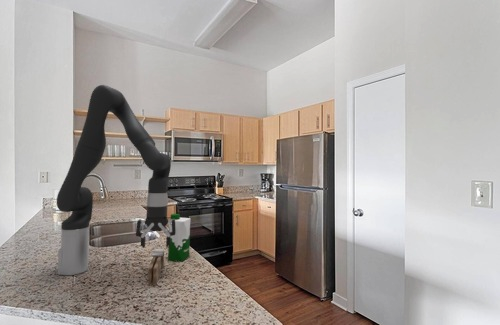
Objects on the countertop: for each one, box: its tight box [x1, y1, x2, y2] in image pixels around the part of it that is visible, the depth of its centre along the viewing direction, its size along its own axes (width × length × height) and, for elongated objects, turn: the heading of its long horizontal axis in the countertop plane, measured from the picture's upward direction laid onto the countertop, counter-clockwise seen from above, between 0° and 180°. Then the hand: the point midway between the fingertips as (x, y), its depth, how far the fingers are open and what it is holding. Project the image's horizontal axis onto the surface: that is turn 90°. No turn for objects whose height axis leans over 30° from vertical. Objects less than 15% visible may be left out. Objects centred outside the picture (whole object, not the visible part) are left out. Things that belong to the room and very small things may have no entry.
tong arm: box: [152, 256, 162, 286], centre depth 97 cm, size 16×3×6 cm, turn 12°
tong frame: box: [147, 248, 165, 287], centre depth 99 cm, size 20×4×7 cm, turn 14°
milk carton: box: [167, 213, 191, 263], centre depth 118 cm, size 9×9×20 cm
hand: (155, 246), depth 99 cm, fingers open, 8 cm apart
